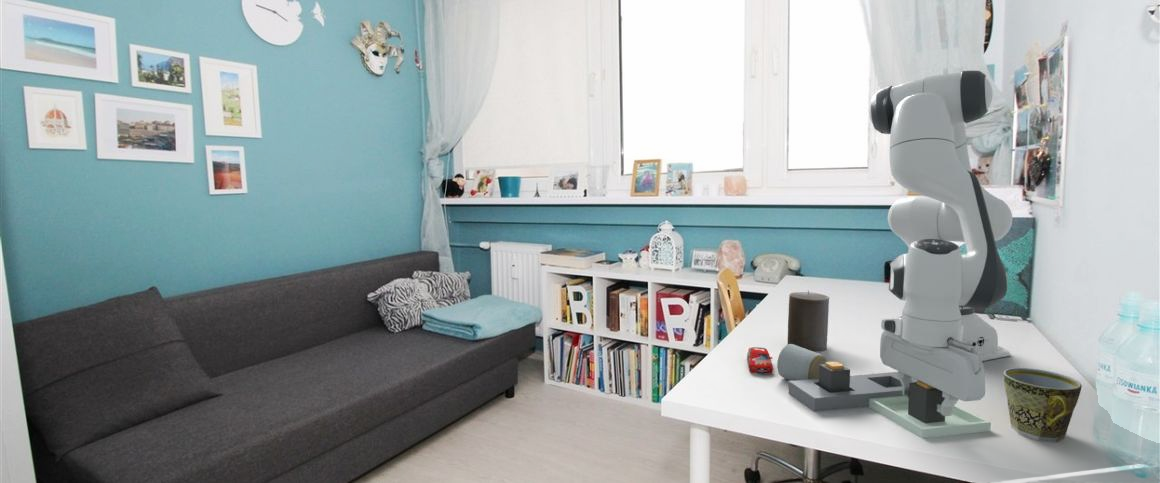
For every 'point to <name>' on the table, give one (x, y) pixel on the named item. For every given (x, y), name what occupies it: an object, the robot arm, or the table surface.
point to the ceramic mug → (799, 363)
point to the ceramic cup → (1040, 402)
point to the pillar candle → (808, 320)
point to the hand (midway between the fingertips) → (926, 405)
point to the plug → (924, 402)
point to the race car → (759, 361)
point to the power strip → (844, 388)
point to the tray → (952, 425)
